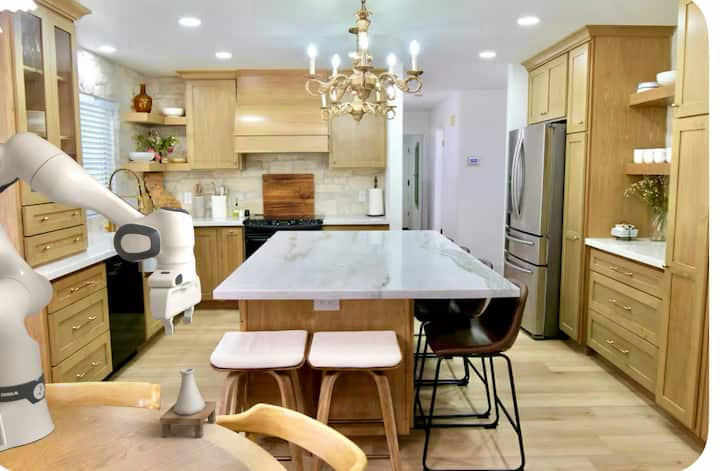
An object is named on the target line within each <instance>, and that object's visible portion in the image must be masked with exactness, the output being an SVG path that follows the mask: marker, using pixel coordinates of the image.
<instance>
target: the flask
mask: <svg viewBox="0 0 720 471" xmlns="http://www.w3.org/2000/svg"><path fill="white" fill-rule="evenodd" d="M194 372H196V370H195V368H193V367H186V368H183V369H180V371H179V373H180V374H181V382H180V388H179V391H178V395H177V399H176V401H175V403H174V404H175V407H174V410H173V411H174V412H176V413H178V414H184V415H191V414H194V413H197V412H199V411H202V410H203V409H204V407H205V406H206V405H205V403H204V401H205V400H204V399H203V397H202V395H201V393H200V391H199V388H198V386H197V384H196V380H195V374H194Z"/></svg>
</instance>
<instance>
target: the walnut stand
mask: <svg viewBox="0 0 720 471" xmlns="http://www.w3.org/2000/svg"><path fill="white" fill-rule="evenodd" d="M203 401H204V403H205V405H206V406H205V407H204V409H203V410H202V411H199V412H197V413H194V414H191V415H184V414H178V413H176V412H174V411H173V410H174V407H175V404H176V403H174V404H173V405H172V406H171V407H170V408H169V409H168V410H167V411H166V412H165V413H164V414H162V415H161V416H160V417H159V424H160V425H161V432H162V438H163V439H169V438H170V437H171V436H172V425H185V426H187V425H189V426H192V425H193V430H194V431H193V432H194V439H197V438H201V439H202V438H203V437H204V422H205V421H206V420H207V424H210V425H211V424H212V425H213V424H215V423H216V421H217V419H216V417H217V416H216V408H217V402H216V401H207V400H206V401H205V400H203ZM202 436H203V437H202Z"/></svg>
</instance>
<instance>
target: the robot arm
mask: <svg viewBox="0 0 720 471" xmlns="http://www.w3.org/2000/svg"><path fill="white" fill-rule="evenodd" d="M20 180H21V181H22V182H24V183H25V184H27V185H28V186H29V188H31V189H33V190H34V191H35V192H36V193H38V194H39V195H40V196H42V197H44V198H45V199H48V200H49V201H51V202H53V203H55V204H56V205H60V206H64V207H65V206H66V207H67V206H68V207H75V208H80V209H85V210H89V211H92V212H94V213H97V214H99V215H100V216H102V217H104V218H105V219H106V220H108V221H109V222H111V223H112V224H113V225H115V226H116V227H118V228H117V229H116V230H115V233H114V235H113V242H112V244H113V247H114V250H115V252H116V254H118V256H119V257H120V258H121V259H123V260H125V261H128V262H142V261H145V260H148V259H156V268H155V269H154V271H153V273H151V274H150V275H149V276H148V278H147V286H148V287H150V290H149V295H148V296H149V309H150V310H149V311H150V316H151V318H152V319H153V320H155V321H161V323H162V326H164V332H165V335H166V336H173V335H174V334H175V333H176V326H175V325H174V324H173V320H174V317H175V316H176V315H179V314H180V313H182V312H183V313H184V315H183V317H182V324H183V325H187V326H188V325H190V324H192V323H193V314H194V310H195V305H197V304H199V303H200V302H201V300H202V290H201V289H202V288H201V280H200V276H198V275H197V271H196V270H197V269H196V268H197V267H196V257H195V253H194V247H195V244H196V243H195V230H194V229H195V228H194V223H193V219H192V218H193V217H192V215H191V213H190V212H189V211H187V210H186V209H184V208H180V207H177V206H176V207H175V206H168V205H167V206H159V207H158V208H156V210H155V211H153V212H151V213H150V214H146V213H143V212H142V211H140V210H138V209H137V208H136V207H134V205H131V204H130V203H129V202H127V201H126V200H125V199H123V198H122V197H121V196H119V195H118V194H116V192H113V191H112V190H111V189H109V188H108V187H106V186H105V184H102V183H101V182H100V181H99V180H98V179H96V177H94V176H93V175H92V174H91V173H89V171H88V170H86V169H85V168H84V167H83V166H82V165H80V164H79V163H78V162H77V161H76V160H75V159H73V158H72V157H71V156H70V155H69V154H67V153H66V152H65V151H63V150H62V149H61V148H59V147H58V146H56V145H55V144H53V143H51V142H50V141H48V140H46V139H45V138H43V137H41V136H39V135H37V134H36V133H34V132H30V131H20V132H16V133H15V134H14V135H12V136H10V137H9V138H8V139H7V140H6V141H5V142H4V143H1V142H0V194H2V193H4V192H5V191H6V190H7V189H8V188H9V187H11V186H13V185H14V184H16V183H17V182H19V181H20ZM10 239H11V238H9V235H8V232H7V231H6V229H5V227H4V225H3V223H2V221H1V219H0V452H2V451H5V450H9V449H11V448H15V447H20V446H23V445H27V444H30V443H34V442H36V441H38V440H40V439H42V438H43V439H44V438H45V437H47V436H48V435H49V434H51V433H52V432H53V431H54V430H55V427H56V425H55V423H54V420H53V419H52V416H51V413H50V411H49V406H48V404H47V400H46V399H47V398H46V379H45V373H44V372H43V370H42V369H43V368H42V358H41V357H42V356H41V347H40V344H39V341H37V340H36V339H34V338H33V337H31V336H30V335H29V332H28V330H27V328H26V326H25V319H27V318H29V317H32V316H34V315H37V314H38V313H40V312H41V311H42V310H44V309H45V308H46V307H47V305H49V304H50V302H51V301H52V299H53V295H54V290H53V289H54V288H53V286H52V283H51V282H50V280H49V279H48V278H47V277H45V276H44V275H42V274H40V273H38V272H36V270H34V269H33V268H32V267H31V266H30V265H29V264H28V263H27V261H26V260H24V258H23V257H22V256H21V255H20V253H19V252H18V251H17V249H16V248H15V246H14V245H13V243H12V242H11V240H10Z"/></svg>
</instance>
